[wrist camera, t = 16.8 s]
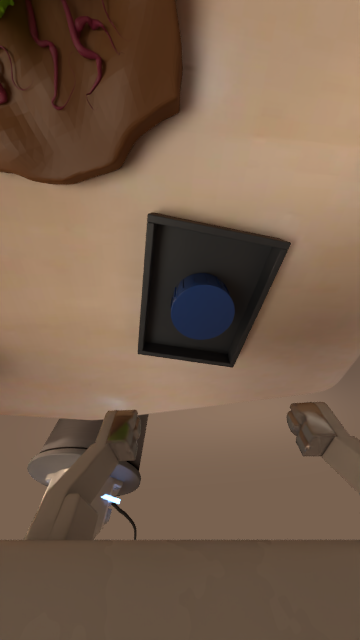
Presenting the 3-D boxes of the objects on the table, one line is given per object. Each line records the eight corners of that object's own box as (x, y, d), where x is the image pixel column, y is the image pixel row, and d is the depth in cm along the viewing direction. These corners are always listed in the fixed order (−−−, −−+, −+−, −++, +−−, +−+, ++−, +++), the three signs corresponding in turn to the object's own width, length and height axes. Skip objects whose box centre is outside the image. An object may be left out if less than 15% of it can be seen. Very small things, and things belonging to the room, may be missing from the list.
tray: (229, 355, 26) (233, 367, 24) (141, 342, 25) (137, 354, 23) (279, 238, 18) (291, 242, 16) (151, 212, 17) (147, 213, 15)
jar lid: (229, 270, 19) (237, 281, 16) (226, 321, 22) (233, 338, 19) (169, 274, 19) (166, 287, 16) (175, 324, 22) (173, 341, 20)
